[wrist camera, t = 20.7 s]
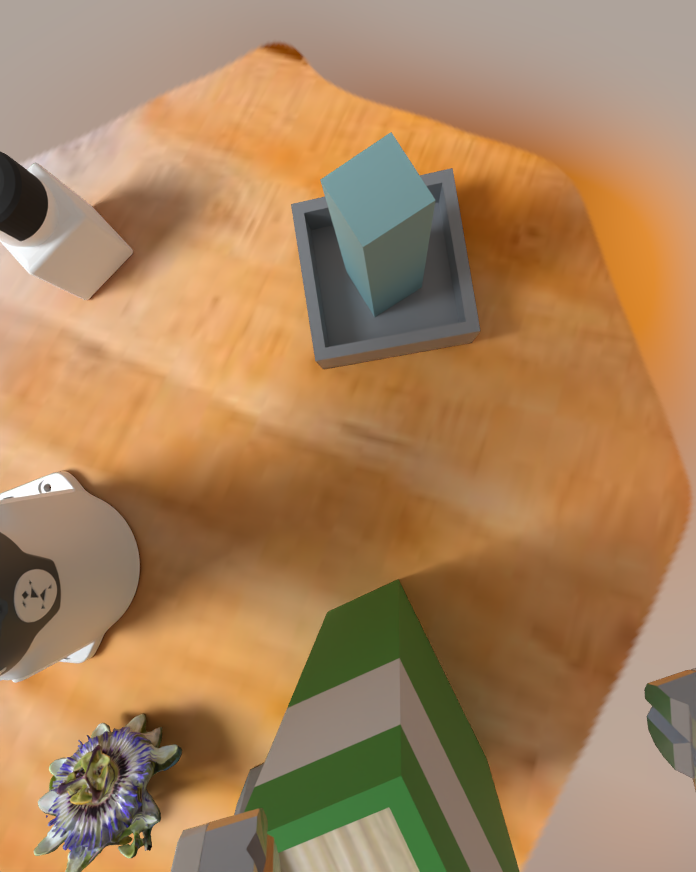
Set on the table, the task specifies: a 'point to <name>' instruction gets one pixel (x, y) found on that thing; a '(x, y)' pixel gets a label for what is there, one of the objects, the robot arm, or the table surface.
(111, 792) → the passion flower
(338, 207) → the tall teal prism
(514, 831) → the table surface
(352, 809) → the hardback book
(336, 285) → the box
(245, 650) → the table surface
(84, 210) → the medicine bottle
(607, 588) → the table surface
